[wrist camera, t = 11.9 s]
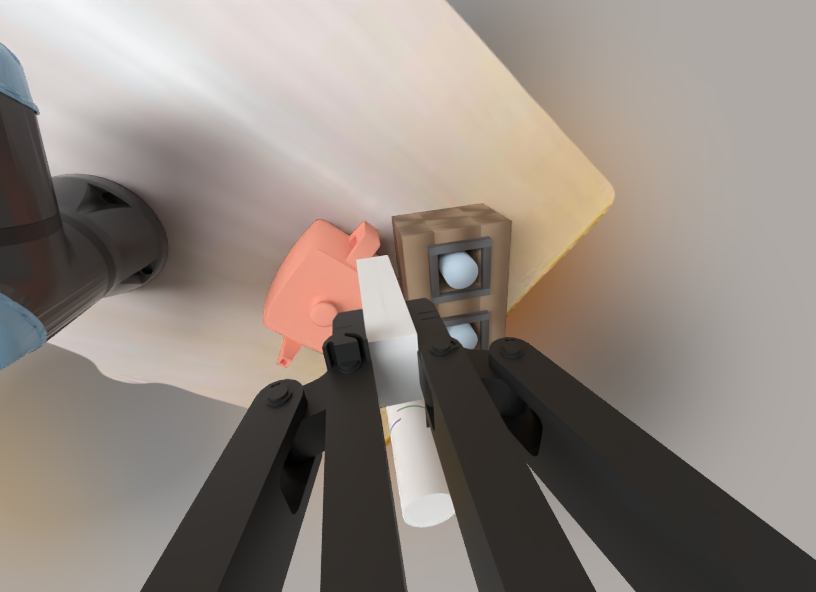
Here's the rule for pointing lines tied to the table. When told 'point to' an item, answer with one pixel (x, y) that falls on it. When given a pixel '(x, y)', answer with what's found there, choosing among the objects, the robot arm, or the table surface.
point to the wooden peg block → (453, 232)
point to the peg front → (458, 269)
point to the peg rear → (464, 335)
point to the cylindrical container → (418, 466)
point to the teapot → (317, 285)
